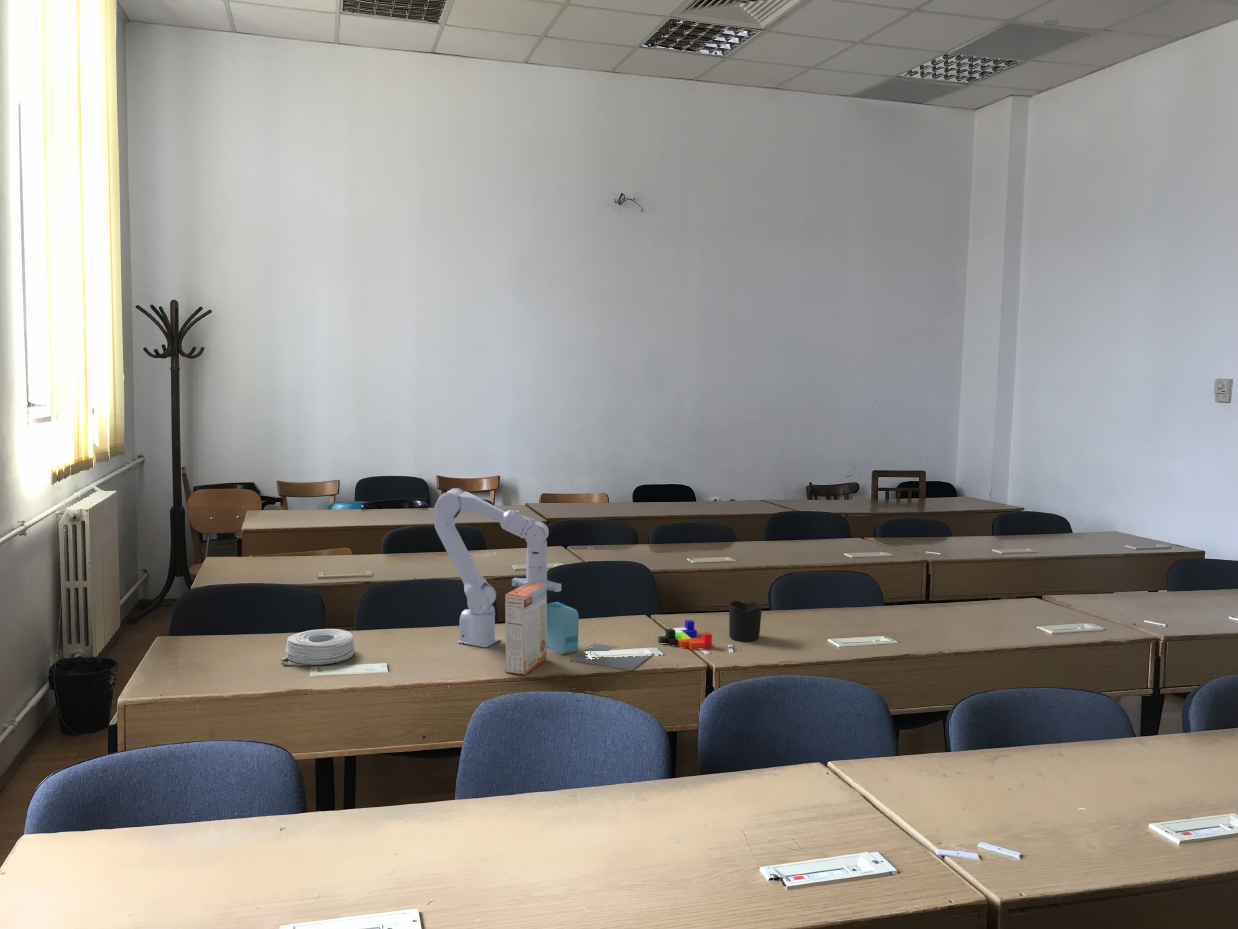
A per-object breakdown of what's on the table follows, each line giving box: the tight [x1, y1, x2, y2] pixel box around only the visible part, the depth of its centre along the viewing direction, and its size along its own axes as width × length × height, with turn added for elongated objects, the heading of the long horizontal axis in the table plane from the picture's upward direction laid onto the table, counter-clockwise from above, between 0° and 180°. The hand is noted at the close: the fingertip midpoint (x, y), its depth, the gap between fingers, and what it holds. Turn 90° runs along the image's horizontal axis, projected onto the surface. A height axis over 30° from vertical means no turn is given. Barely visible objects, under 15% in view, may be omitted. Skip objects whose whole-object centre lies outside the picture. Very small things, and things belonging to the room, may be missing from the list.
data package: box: [547, 601, 580, 655], centre depth 261 cm, size 12×4×12 cm, turn 36°
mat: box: [569, 643, 651, 672], centre depth 256 cm, size 18×16×1 cm
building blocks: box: [657, 619, 713, 651], centre depth 271 cm, size 15×13×4 cm
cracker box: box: [504, 582, 548, 676], centre depth 246 cm, size 14×6×21 cm, turn 160°
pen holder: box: [728, 600, 763, 643], centre depth 275 cm, size 9×9×10 cm
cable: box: [280, 628, 355, 666], centre depth 251 cm, size 18×18×6 cm
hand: (536, 613), depth 264 cm, fingers closed
